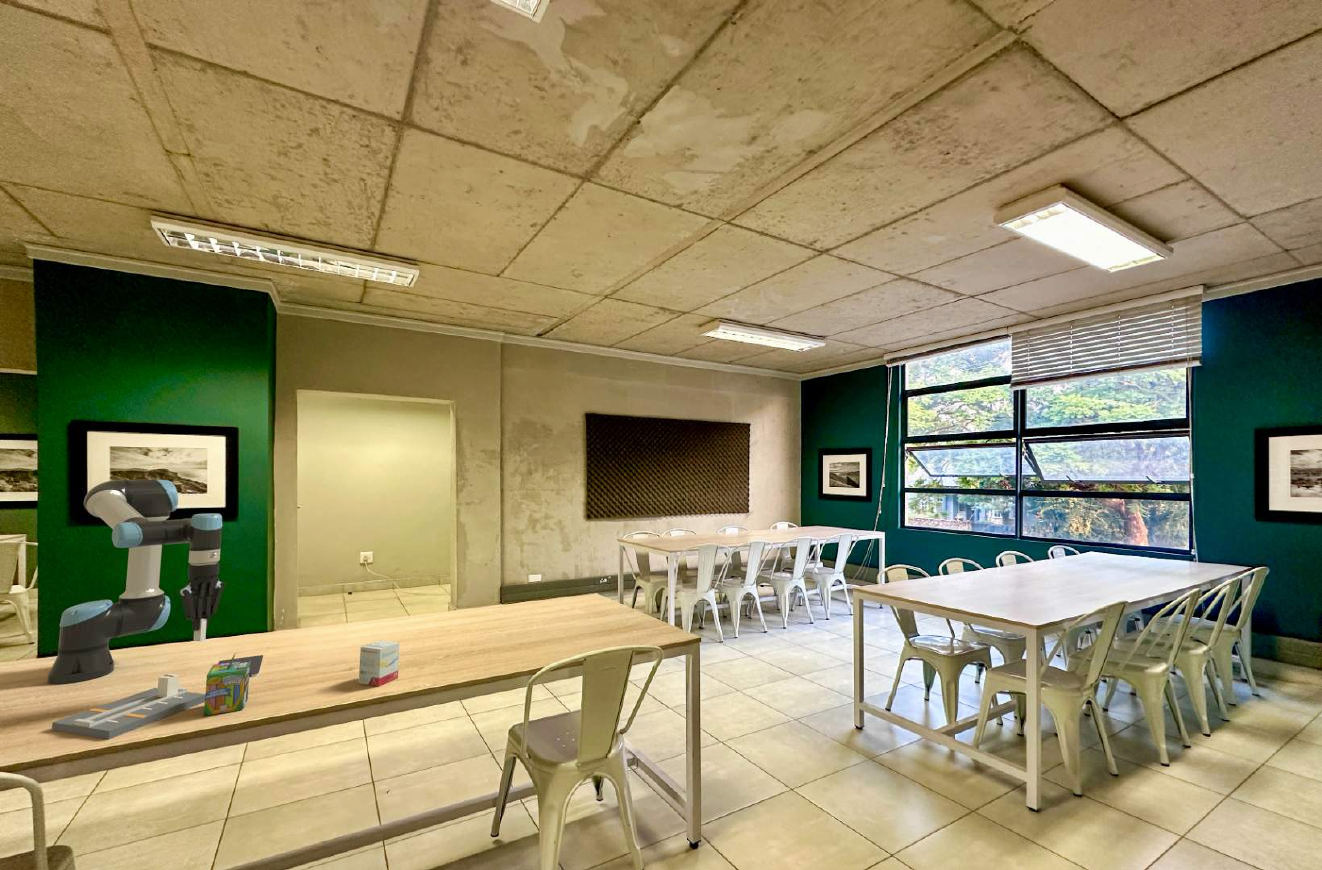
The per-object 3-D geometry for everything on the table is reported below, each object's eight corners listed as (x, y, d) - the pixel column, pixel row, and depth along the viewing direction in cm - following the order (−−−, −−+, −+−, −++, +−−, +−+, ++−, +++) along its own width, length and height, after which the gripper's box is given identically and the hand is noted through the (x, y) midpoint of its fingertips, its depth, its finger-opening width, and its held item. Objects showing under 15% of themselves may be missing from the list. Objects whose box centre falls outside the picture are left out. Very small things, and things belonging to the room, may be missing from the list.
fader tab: (157, 696, 160) (158, 676, 161) (168, 692, 163) (169, 673, 164) (166, 697, 160) (168, 678, 160) (177, 693, 163) (179, 674, 163)
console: (51, 730, 144) (52, 717, 144) (154, 694, 167) (155, 683, 167) (109, 739, 139) (110, 726, 139) (206, 701, 163) (206, 690, 163)
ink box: (399, 677, 183) (400, 641, 183) (378, 687, 175) (379, 649, 175) (379, 674, 185) (380, 638, 186) (357, 683, 177) (359, 646, 178)
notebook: (219, 665, 194) (209, 685, 176) (219, 660, 194) (210, 680, 176) (263, 659, 201) (258, 677, 183) (263, 654, 201) (258, 672, 183)
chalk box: (209, 705, 160) (213, 653, 161) (248, 699, 165) (251, 648, 166) (202, 717, 152) (205, 662, 153) (243, 710, 157) (246, 657, 158)
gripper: (191, 567, 165) (186, 647, 163) (234, 560, 177) (229, 635, 176) (172, 566, 166) (167, 645, 165) (215, 559, 179) (211, 633, 177)
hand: (199, 640), depth 170 cm, fingers closed
